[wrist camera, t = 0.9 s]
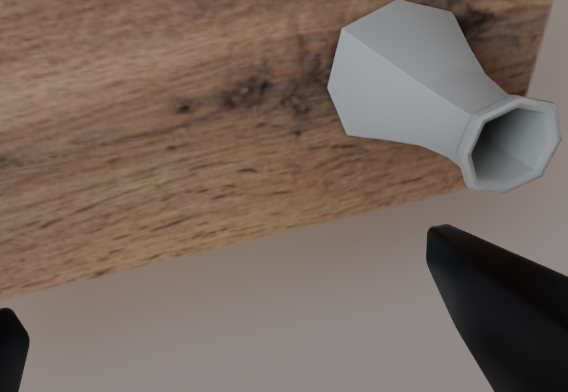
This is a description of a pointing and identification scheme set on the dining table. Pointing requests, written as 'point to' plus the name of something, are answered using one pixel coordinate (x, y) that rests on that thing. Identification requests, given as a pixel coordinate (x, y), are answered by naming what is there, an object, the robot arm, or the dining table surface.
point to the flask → (438, 97)
